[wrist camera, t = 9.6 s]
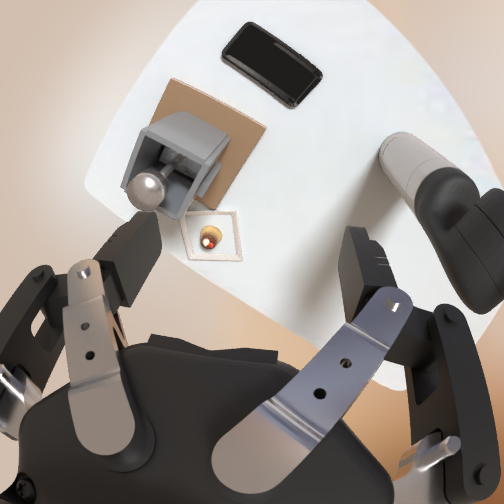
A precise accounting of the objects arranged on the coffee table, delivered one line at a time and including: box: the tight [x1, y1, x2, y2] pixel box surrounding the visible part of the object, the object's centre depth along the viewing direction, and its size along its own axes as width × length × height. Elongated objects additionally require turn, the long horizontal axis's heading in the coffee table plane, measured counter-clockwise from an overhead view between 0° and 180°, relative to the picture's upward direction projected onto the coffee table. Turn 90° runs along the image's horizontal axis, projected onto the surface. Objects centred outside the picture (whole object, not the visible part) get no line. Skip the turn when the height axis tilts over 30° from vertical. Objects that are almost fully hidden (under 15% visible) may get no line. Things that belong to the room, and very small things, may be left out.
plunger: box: [127, 146, 202, 211], centre depth 38 cm, size 8×8×17 cm
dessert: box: [179, 210, 243, 261], centre depth 57 cm, size 12×12×5 cm
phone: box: [222, 22, 323, 106], centre depth 38 cm, size 8×1×15 cm
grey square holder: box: [120, 78, 267, 221], centre depth 42 cm, size 18×18×16 cm
